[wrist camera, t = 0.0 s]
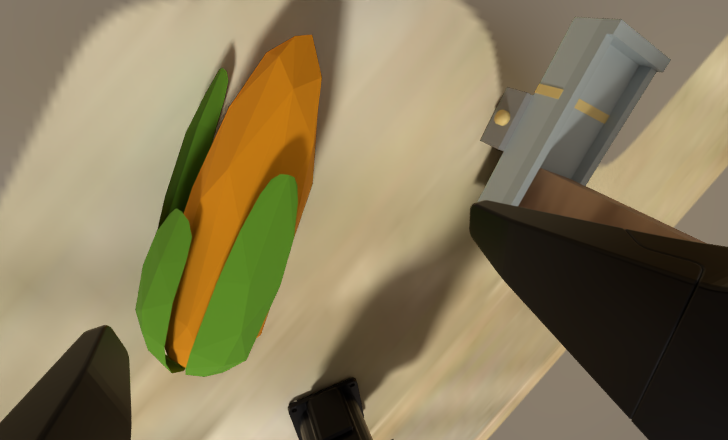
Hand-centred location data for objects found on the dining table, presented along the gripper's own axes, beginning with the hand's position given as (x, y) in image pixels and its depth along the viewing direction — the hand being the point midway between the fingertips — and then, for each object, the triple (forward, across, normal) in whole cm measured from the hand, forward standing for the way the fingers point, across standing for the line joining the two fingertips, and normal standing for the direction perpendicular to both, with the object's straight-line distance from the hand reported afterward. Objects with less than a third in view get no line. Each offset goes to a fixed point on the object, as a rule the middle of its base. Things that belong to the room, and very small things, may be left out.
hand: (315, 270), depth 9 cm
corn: (+15, +2, +4) cm, 16 cm away
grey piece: (+15, -20, +5) cm, 25 cm away
